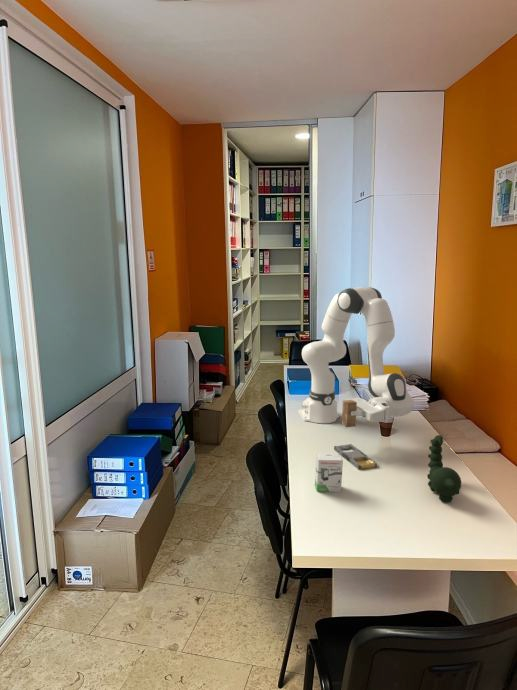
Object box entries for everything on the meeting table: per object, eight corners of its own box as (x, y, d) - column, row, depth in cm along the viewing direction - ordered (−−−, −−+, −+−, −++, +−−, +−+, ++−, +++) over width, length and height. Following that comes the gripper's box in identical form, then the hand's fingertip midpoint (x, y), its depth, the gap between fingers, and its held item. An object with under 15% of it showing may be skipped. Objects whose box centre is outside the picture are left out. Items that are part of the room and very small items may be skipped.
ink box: (316, 492, 171) (317, 459, 169) (314, 485, 176) (315, 453, 173) (341, 492, 171) (343, 459, 169) (339, 485, 176) (340, 453, 174)
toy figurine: (419, 480, 184) (435, 509, 159) (422, 430, 182) (439, 451, 157) (446, 482, 183) (466, 511, 158) (449, 432, 181) (470, 453, 156)
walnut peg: (341, 423, 204) (342, 400, 202) (350, 422, 205) (351, 399, 203) (346, 427, 200) (347, 403, 198) (355, 426, 201) (356, 402, 199)
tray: (334, 449, 207) (334, 446, 207) (351, 447, 210) (351, 444, 209) (358, 469, 188) (359, 466, 188) (377, 467, 191) (377, 463, 191)
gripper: (364, 393, 214) (335, 396, 210) (391, 408, 196) (360, 411, 191) (363, 407, 216) (334, 410, 211) (390, 423, 197) (359, 427, 192)
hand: (347, 411), depth 201 cm, fingers closed on walnut peg, 4 cm apart
